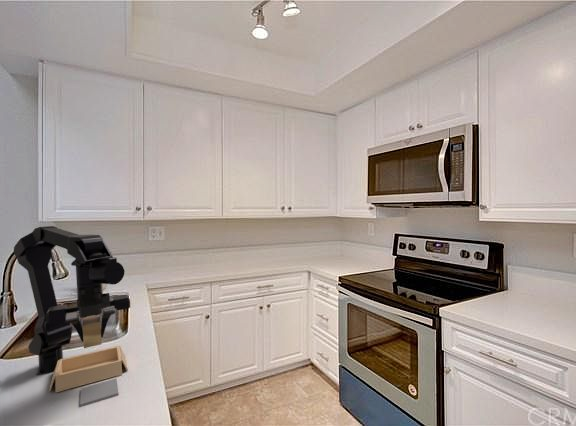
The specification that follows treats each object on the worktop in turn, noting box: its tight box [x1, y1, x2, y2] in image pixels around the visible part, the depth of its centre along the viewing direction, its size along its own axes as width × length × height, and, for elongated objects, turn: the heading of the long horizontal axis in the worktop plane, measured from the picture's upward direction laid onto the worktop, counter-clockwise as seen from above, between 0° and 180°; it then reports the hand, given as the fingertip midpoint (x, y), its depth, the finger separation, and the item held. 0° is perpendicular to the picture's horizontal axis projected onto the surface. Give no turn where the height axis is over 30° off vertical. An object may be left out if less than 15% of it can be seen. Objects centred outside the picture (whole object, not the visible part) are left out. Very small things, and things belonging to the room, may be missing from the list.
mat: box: [79, 377, 119, 408], centre depth 79 cm, size 8×8×1 cm
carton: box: [48, 345, 129, 393], centre depth 89 cm, size 14×18×4 cm
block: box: [82, 314, 102, 349], centre depth 85 cm, size 8×4×6 cm, turn 32°
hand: (92, 339), depth 85 cm, fingers closed on block, 4 cm apart
